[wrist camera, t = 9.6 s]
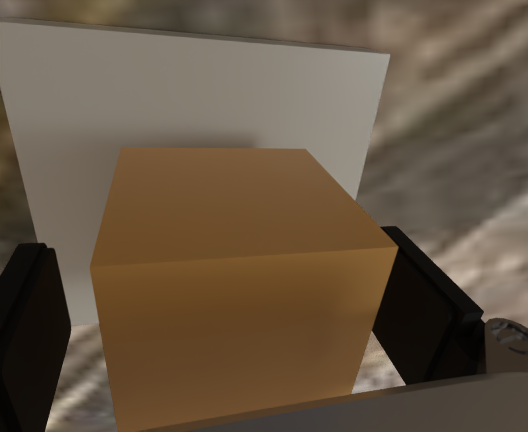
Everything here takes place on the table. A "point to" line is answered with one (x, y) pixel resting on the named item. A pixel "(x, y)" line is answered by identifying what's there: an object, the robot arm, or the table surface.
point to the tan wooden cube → (232, 283)
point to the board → (166, 114)
